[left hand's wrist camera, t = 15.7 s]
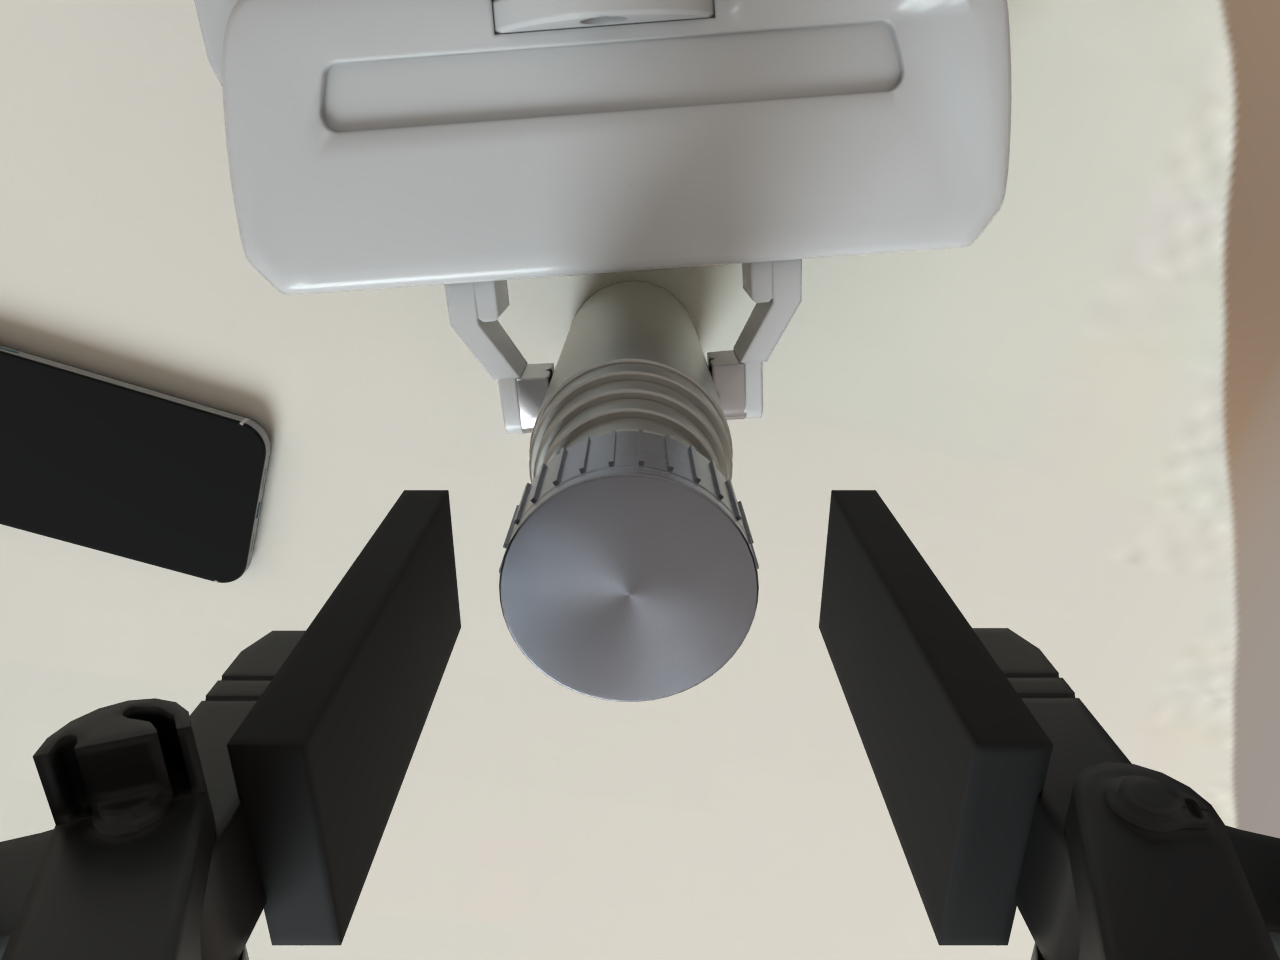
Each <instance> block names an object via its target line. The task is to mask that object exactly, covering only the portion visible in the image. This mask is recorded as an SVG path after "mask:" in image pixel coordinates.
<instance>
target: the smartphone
mask: <svg viewBox="0 0 1280 960" xmlns="http://www.w3.org/2000/svg"><path fill="white" fill-rule="evenodd" d="M270 451H271V445H270V440H269V438H268V435H267V434H266V432H265V431H264V429H263V428H262V427H261V426H260V425H258V424H257V423H256V422H254V421H252V420H250V419H248V418H245V417H241V416H238V415H235V414H231V413H228V412H224V411H221V410H218V409H214V408H211V407H207V406H204V405H201V404H197V403H194V402H191V401H187V400H184V399H180V398H177V397H174V396H170V395H167V394H163V393H160V392H157V391H153V390H150V389H146V388H143V387H140V386H136V385H133V384H130V383H126V382H123V381H119V380H116V379H113V378H109V377H106V376H102V375H99V374H96V373H92V372H89V371H85V370H82V369H79V368H75V367H72V366H69V365H65V364H62V363H58V362H55V361H52V360H48V359H45V358H41V357H38V356H35V355H31V354H28V353H24V352H21V351H18V350H14V349H11V348H8V347H4V346H1V345H0V524H3V525H6V526H10V527H14V528H17V529H21V530H25V531H29V532H32V533H36V534H40V535H43V536H47V537H51V538H55V539H58V540H62V541H66V542H70V543H73V544H77V545H81V546H84V547H88V548H92V549H96V550H99V551H103V552H107V553H110V554H114V555H118V556H122V557H125V558H129V559H133V560H136V561H140V562H144V563H148V564H151V565H155V566H159V567H162V568H166V569H170V570H174V571H177V572H181V573H185V574H189V575H192V576H196V577H200V578H203V579H207V580H211V581H215V582H220V583H226V582H231V581H234V580H236V579H238V578H239V577H241V576H242V574H243V573H244V572H245V571H246V570H247V569H248V567H249V565H250V563H251V559H252V553H253V547H254V542H255V536H256V530H257V525H258V519H259V513H260V508H261V502H262V496H263V491H264V485H265V480H266V474H267V468H268V463H269V457H270Z"/></svg>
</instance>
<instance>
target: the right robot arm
mask: <svg viewBox="0 0 1280 960" xmlns="http://www.w3.org/2000/svg"><path fill="white" fill-rule="evenodd" d="M194 1H195V5H196V9H197V14H198V18H199V22H200V27H201V31H202V35H203V40H204V44H205V48H206V53H207V56H208V59H209V62H210V64H211V67H212V69H213V71H214V73H215V75H216V77H217V78H218V80H219V82H220V83H221V85H222V86H223V104H224V117H225V130H226V142H227V151H228V160H229V168H230V177H231V184H232V190H233V197H234V204H235V210H236V215H237V221H238V227H239V233H240V237H241V242H242V246H243V250H244V253H245V256H246V258H247V259H248V261H249V263H250V264H251V265H252V266H253V267H254V268H255V269H256V270H257V271H258V272H259V273H260V274H261V275H262V276H263V277H264V278H265V279H266V280H267V281H268V282H269V283H270V284H271V285H272V286H274V287H275V288H276V289H277V290H278V291H279V292H281V293H283V294H286V295H300V294H315V293H329V292H343V291H357V290H371V289H385V288H399V287H413V286H428V285H442V284H445V291H446V297H447V304H448V310H449V317H450V323H451V326H452V327H453V328H454V330H455V331H456V332H457V334H458V335H459V336H460V337H461V339H462V340H463V341H464V343H465V344H466V345H467V346H468V348H469V349H470V350H471V351H472V353H473V354H474V355H475V357H476V358H477V359H478V360H479V362H480V363H481V364H482V365H483V367H484V368H485V369H486V371H487V372H488V373H489V374H490V376H491V377H492V378H493V380H498V382H499V389H500V397H501V404H502V411H503V418H504V426H505V429H506V432H507V434H524V433H532V431H533V427H534V424H535V421H536V419H537V416H538V413H539V411H540V408H541V405H542V403H543V400H544V397H545V395H546V392H547V389H548V387H549V384H550V381H551V379H552V376H553V373H554V363H545V364H527V362H526V360H525V359H524V357H523V356H522V354H521V353H520V352H519V350H518V349H517V347H516V346H515V345H514V343H513V342H512V340H511V339H510V337H509V336H508V335H507V333H506V332H505V330H504V329H503V327H502V326H501V325H500V323H499V322H498V320H497V319H498V318H499V316H500V315H501V314H502V313H503V312H504V310H505V309H506V308H507V307H508V306H509V296H508V288H507V280H512V279H526V278H541V277H555V276H569V275H583V274H597V273H611V272H625V271H639V270H653V269H668V268H682V267H696V266H710V265H724V264H738V263H742V274H743V289H744V290H745V291H746V292H747V294H748V295H749V296H750V298H751V299H752V300H753V301H755V302H756V305H755V307H754V309H753V311H752V313H751V315H750V317H749V319H748V321H747V323H746V325H745V327H744V329H743V330H742V332H741V334H740V336H739V338H738V340H737V342H736V344H735V346H734V348H733V349H734V350H730V351H719V352H708V353H707V360H708V368H709V371H710V374H711V377H712V380H713V383H714V386H715V388H716V391H717V394H718V397H719V400H720V403H721V406H722V409H723V412H724V415H725V418H726V420H732V419H748V418H761V417H762V411H763V377H762V362H765V361H767V360H768V358H769V356H770V355H771V353H772V351H773V349H774V348H775V346H776V344H777V342H778V341H779V339H780V337H781V336H782V334H783V332H784V330H785V329H786V327H787V325H788V323H789V322H790V320H791V318H792V316H793V315H794V313H795V311H796V309H797V308H798V306H799V304H800V302H801V278H802V259H809V258H823V257H837V256H851V255H865V254H879V253H893V252H908V251H922V250H935V249H949V248H962V247H966V246H969V245H971V244H972V243H973V242H974V241H975V240H976V239H977V238H978V237H979V236H980V234H981V233H982V232H983V231H984V229H985V228H986V227H987V226H988V224H989V223H990V222H991V220H992V219H993V218H994V216H995V215H996V214H997V212H998V211H999V210H1000V208H1001V206H1002V204H1003V200H1004V196H1005V191H1006V185H1007V176H1008V165H1009V152H1010V131H1011V51H1010V29H1009V12H1008V4H1007V0H194Z"/></svg>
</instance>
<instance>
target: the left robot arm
mask: <svg viewBox="0 0 1280 960" xmlns="http://www.w3.org/2000/svg"><path fill="white" fill-rule="evenodd" d="M460 629H461V621H460V611H459V600H458V589H457V578H456V567H455V557H454V546H453V535H452V524H451V513H450V503H449V492H448V490H404V492H403V493H402V494H401V496H400V497H399V499H398V500H397V502H396V503H395V504H394V506H393V507H392V509H391V510H390V512H389V513H388V514H387V516H386V517H385V519H384V520H383V522H382V523H381V524H380V526H379V527H378V529H377V530H376V532H375V533H374V534H373V536H372V537H371V539H370V540H369V542H368V543H367V545H366V546H365V547H364V549H363V550H362V552H361V553H360V555H359V556H358V557H357V559H356V560H355V562H354V563H353V565H352V566H351V567H350V569H349V570H348V572H347V573H346V575H345V576H344V577H343V579H342V580H341V582H340V583H339V585H338V586H337V587H336V589H335V590H334V592H333V593H332V595H331V596H330V597H329V599H328V600H327V602H326V603H325V605H324V606H323V607H322V609H321V610H320V612H319V613H318V615H317V616H316V617H315V619H314V620H313V622H312V623H311V625H310V626H309V627H308V629H307V630H306V631H272V632H270V633H269V634H267V635H266V636H264V637H263V638H261V639H260V640H258V641H257V642H255V643H254V644H252V645H251V646H249V647H247V648H246V649H244V650H243V651H241V653H240V654H239V655H238V656H237V658H236V659H235V660H234V661H233V663H232V664H231V665H230V666H229V668H228V669H227V670H226V671H225V673H224V674H223V675H222V680H221V681H217V683H216V684H215V685H214V686H213V688H212V689H211V690H210V691H209V693H208V694H207V695H206V700H205V701H201V703H200V704H199V705H198V706H197V708H196V709H195V710H194V711H193V713H192V714H191V715H190V716H189V712H188V711H187V710H185V709H184V708H183V707H181V706H180V705H179V704H178V703H176V702H172V701H166V700H161V699H142V700H130V701H125V702H121V703H118V704H114V705H110V706H107V707H103V708H99V709H97V710H95V711H93V712H91V713H88V714H86V715H84V716H82V717H80V718H77V719H75V720H73V721H71V722H69V723H68V724H67V725H65V726H64V727H62V728H61V729H60V730H58V731H57V732H55V733H54V734H53V735H51V736H50V737H48V738H47V739H46V740H45V742H44V743H43V744H42V745H41V747H40V748H39V749H38V750H37V752H36V753H35V754H34V755H33V759H34V762H35V765H36V768H37V771H38V773H39V776H40V779H41V782H42V785H43V788H44V791H45V794H46V797H47V800H48V803H49V806H50V809H51V812H52V815H53V818H54V821H55V824H56V826H55V828H54V829H53V830H50V831H46V832H43V833H39V834H34V835H30V836H25V837H21V838H16V839H12V840H7V841H3V842H0V960H249V957H248V953H247V949H246V943H247V941H248V939H249V937H250V935H251V933H252V931H253V929H254V927H255V925H256V923H257V921H258V919H259V917H260V915H261V913H262V911H263V909H264V911H265V916H266V920H267V925H268V929H269V933H270V938H271V942H272V945H341V944H342V941H343V938H344V936H345V933H346V930H347V928H348V925H349V922H350V920H351V917H352V914H353V912H354V909H355V906H356V904H357V901H358V899H359V896H360V893H361V891H362V888H363V885H364V883H365V880H366V877H367V875H368V872H369V869H370V867H371V864H372V861H373V859H374V856H375V854H376V851H377V848H378V846H379V843H380V840H381V838H382V835H383V832H384V830H385V827H386V824H387V822H388V819H389V816H390V814H391V811H392V809H393V806H394V803H395V801H396V798H397V795H398V793H399V790H400V787H401V785H402V782H403V779H404V777H405V774H406V771H407V769H408V766H409V764H410V761H411V758H412V756H413V753H414V750H415V748H416V745H417V742H418V740H419V737H420V734H421V732H422V729H423V726H424V724H425V721H426V719H427V716H428V713H429V711H430V708H431V705H432V703H433V700H434V697H435V695H436V692H437V689H438V687H439V684H440V681H441V679H442V676H443V674H444V671H445V668H446V666H447V663H448V660H449V658H450V655H451V652H452V650H453V647H454V644H455V642H456V639H457V637H458V634H459V631H460ZM819 629H820V631H821V634H822V637H823V639H824V642H825V644H826V647H827V650H828V652H829V655H830V658H831V660H832V663H833V666H834V668H835V671H836V674H837V676H838V679H839V681H840V684H841V687H842V689H843V692H844V695H845V697H846V700H847V703H848V705H849V708H850V711H851V713H852V716H853V719H854V721H855V724H856V726H857V729H858V732H859V734H860V737H861V740H862V742H863V745H864V748H865V750H866V753H867V756H868V758H869V761H870V764H871V766H872V769H873V771H874V774H875V777H876V779H877V782H878V785H879V787H880V790H881V793H882V795H883V798H884V801H885V803H886V806H887V809H888V811H889V814H890V816H891V819H892V822H893V824H894V827H895V830H896V832H897V835H898V838H899V840H900V843H901V846H902V848H903V851H904V854H905V856H906V859H907V861H908V864H909V867H910V869H911V872H912V875H913V877H914V880H915V883H916V885H917V888H918V891H919V893H920V896H921V899H922V901H923V904H924V906H925V909H926V912H927V914H928V917H929V920H930V922H931V925H932V928H933V930H934V933H935V936H936V938H937V941H938V944H939V945H1008V942H1009V938H1010V933H1011V929H1012V925H1013V920H1014V916H1015V911H1016V907H1017V906H1018V908H1019V910H1020V912H1021V914H1022V916H1023V918H1024V920H1025V922H1026V924H1027V926H1028V928H1029V930H1030V932H1031V934H1032V936H1033V938H1034V940H1035V945H1034V949H1033V953H1032V957H1031V960H1280V839H1279V838H1275V837H1270V836H1266V835H1261V834H1257V833H1253V832H1248V831H1243V830H1239V829H1236V828H1232V827H1229V826H1226V825H1225V824H1224V823H1223V821H1222V820H1221V818H1220V817H1219V816H1218V814H1217V813H1216V811H1215V810H1214V808H1213V807H1212V805H1211V804H1210V803H1208V802H1207V801H1206V800H1205V799H1203V798H1202V797H1201V796H1200V795H1198V794H1197V793H1196V792H1195V791H1194V790H1192V789H1191V788H1190V787H1188V786H1186V785H1185V784H1183V783H1181V782H1179V781H1177V780H1175V779H1173V778H1171V777H1169V776H1167V775H1165V774H1163V773H1161V772H1158V771H1154V770H1151V769H1148V768H1145V767H1141V766H1138V765H1135V764H1132V763H1131V762H1130V761H1129V760H1128V758H1127V757H1126V756H1125V755H1124V754H1123V752H1122V751H1121V750H1120V749H1119V747H1118V746H1117V745H1116V744H1115V742H1114V741H1113V740H1112V739H1111V737H1110V736H1109V735H1108V734H1107V732H1106V731H1105V730H1104V729H1103V727H1102V726H1101V725H1100V724H1099V722H1098V721H1097V720H1096V719H1095V718H1094V716H1093V715H1092V714H1091V713H1090V711H1089V710H1088V709H1087V708H1086V706H1085V705H1084V704H1083V703H1082V701H1081V700H1080V699H1079V698H1075V693H1074V691H1073V690H1072V689H1071V688H1070V686H1069V685H1068V684H1067V683H1066V682H1065V680H1064V679H1063V678H1059V673H1058V672H1057V670H1056V669H1055V668H1054V667H1053V665H1052V664H1051V663H1050V662H1049V660H1048V659H1047V658H1046V657H1045V655H1044V654H1043V653H1042V652H1041V651H1040V649H1039V648H1037V647H1036V646H1034V645H1032V644H1031V643H1029V642H1028V641H1026V640H1025V639H1023V638H1022V637H1020V636H1019V635H1017V634H1016V633H1014V632H1013V631H1011V630H1010V629H1008V628H972V627H971V626H970V625H969V623H968V622H967V620H966V619H965V617H964V616H963V615H962V613H961V612H960V610H959V609H958V607H957V606H956V605H955V603H954V602H953V600H952V599H951V597H950V596H949V595H948V593H947V592H946V590H945V589H944V587H943V586H942V585H941V583H940V582H939V580H938V579H937V577H936V576H935V575H934V573H933V572H932V570H931V569H930V567H929V566H928V565H927V563H926V562H925V560H924V559H923V557H922V556H921V555H920V553H919V552H918V550H917V549H916V547H915V546H914V545H913V543H912V542H911V540H910V539H909V537H908V536H907V534H906V533H905V532H904V530H903V529H902V527H901V526H900V524H899V523H898V522H897V520H896V519H895V517H894V516H893V514H892V513H891V512H890V510H889V509H888V507H887V506H886V504H885V503H884V502H883V500H882V499H881V497H880V496H879V494H878V493H877V492H876V490H832V492H831V503H830V513H829V524H828V535H827V546H826V557H825V567H824V578H823V589H822V600H821V611H820V621H819Z"/></svg>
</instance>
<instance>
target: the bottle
mask: <svg viewBox="0 0 1280 960" xmlns="http://www.w3.org/2000/svg"><path fill="white" fill-rule="evenodd" d="M639 429H642V430H643V432H647V433H654V434H658V435H662V436H665V435H666V434H667V435H670V438H672V439H674V440H676V441H679V442H681V443H684V444H685V445H687V446H690V445H692V446H694V447H695V450H696V451H697V452H699V453H700V454H701V455H703V456H704V457H705V458H707V459H708V460H709V461H710V462H711V461H712V460H713V461H714V462H715V463H716V467H717V469H718V470H719V471H720V472H721V474H722V475H723V476H724V478H725V479H726V480H729V479H730V481H731V478H732V465H733V464H732V455H733V451H732V440H731V435H730V431H729V427H728V424H727V421H726V418H725V415H724V412H723V409H722V406H721V403H720V400H719V397H718V394H717V391H716V388H715V386H714V383H713V380H712V377H711V374H710V371H709V368H708V365H707V362H706V359H705V356H704V353H703V350H702V347H701V344H700V341H699V338H698V336H697V333H696V330H695V327H694V324H693V321H692V319H691V317H690V315H689V313H688V311H687V310H686V309H685V307H684V306H683V304H682V303H681V302H680V301H679V300H678V299H677V298H676V297H674V296H673V295H672V294H671V293H669V292H668V291H666V290H664V289H663V288H661V287H658V286H656V285H653V284H650V283H646V282H639V281H627V282H620V283H616V284H612V285H610V286H607V287H605V288H603V289H601V290H599V291H598V292H596V293H595V294H593V295H592V296H591V297H590V298H589V299H588V300H587V301H586V302H585V303H584V304H583V305H582V307H581V308H580V309H579V311H578V312H577V314H576V316H575V318H574V320H573V323H572V325H571V328H570V331H569V333H568V336H567V339H566V341H565V344H564V347H563V349H562V352H561V355H560V357H559V360H558V363H557V365H556V368H555V371H554V373H553V376H552V379H551V381H550V384H549V387H548V389H547V392H546V395H545V397H544V400H543V403H542V405H541V408H540V411H539V413H538V416H537V419H536V421H535V424H534V427H533V431H532V435H531V441H530V461H529V467H530V479H531V482H532V481H533V479H534V478H535V477H536V475H537V474H538V473H539V470H540V467H541V465H542V464H543V463H544V464H545V465H546V464H547V463H548V462H549V461H550V460H551V459H552V458H554V457H555V456H556V455H558V454H559V453H560V450H561V449H562V448H563V447H565V448H566V449H567V448H568V447H570V446H572V445H574V444H576V443H578V442H580V441H583V440H584V438H585V437H586V436H589V437H593V436H597V435H601V434H606V433H611V430H616V432H621V431H639Z"/></svg>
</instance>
